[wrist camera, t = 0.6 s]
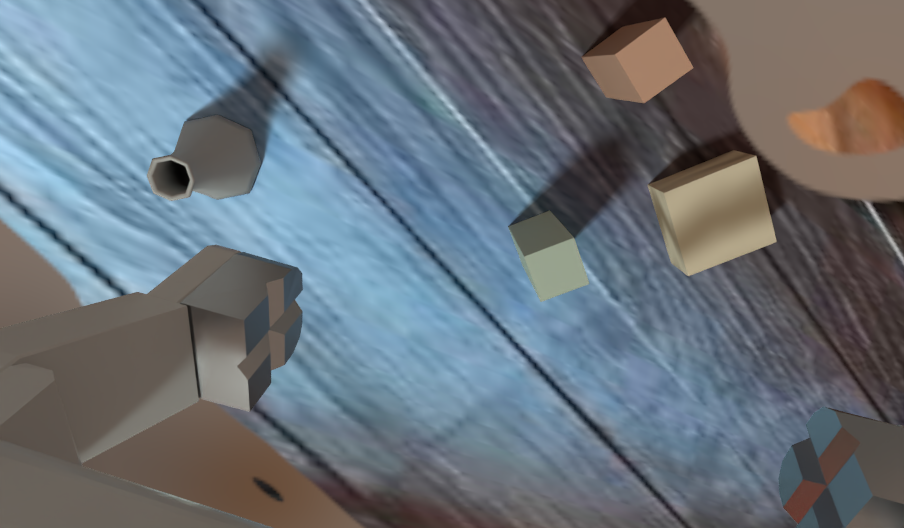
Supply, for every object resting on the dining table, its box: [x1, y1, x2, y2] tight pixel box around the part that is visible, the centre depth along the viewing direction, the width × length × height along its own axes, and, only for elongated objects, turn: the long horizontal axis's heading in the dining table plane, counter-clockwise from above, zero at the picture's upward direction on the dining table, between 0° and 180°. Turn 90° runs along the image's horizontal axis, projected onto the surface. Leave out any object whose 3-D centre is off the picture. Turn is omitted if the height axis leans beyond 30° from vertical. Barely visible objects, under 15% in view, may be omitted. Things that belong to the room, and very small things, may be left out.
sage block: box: [508, 211, 589, 302], centre depth 49 cm, size 4×4×9 cm
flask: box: [147, 115, 261, 201], centre depth 45 cm, size 7×7×10 cm
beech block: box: [648, 150, 777, 276], centre depth 52 cm, size 8×8×4 cm
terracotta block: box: [582, 18, 693, 103], centre depth 45 cm, size 4×4×9 cm
